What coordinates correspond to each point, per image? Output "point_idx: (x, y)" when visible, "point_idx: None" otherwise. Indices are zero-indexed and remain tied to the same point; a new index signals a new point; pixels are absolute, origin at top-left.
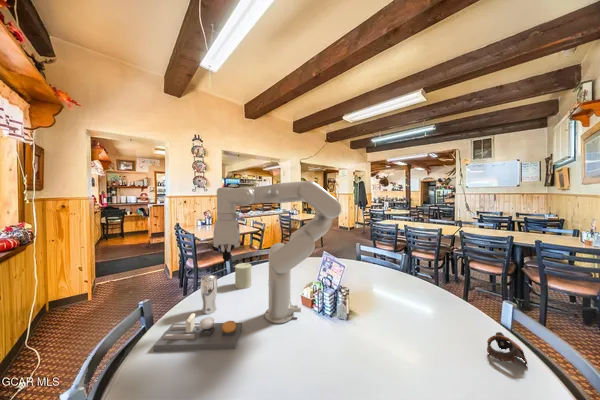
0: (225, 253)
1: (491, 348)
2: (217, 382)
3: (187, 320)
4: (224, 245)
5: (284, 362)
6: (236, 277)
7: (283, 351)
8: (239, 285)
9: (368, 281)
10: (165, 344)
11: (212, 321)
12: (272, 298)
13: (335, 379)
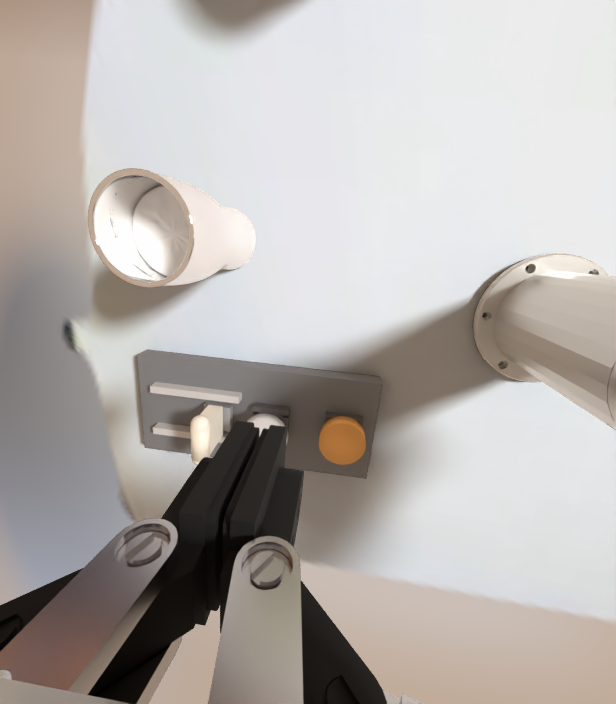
0: (218, 601)
1: None
2: (339, 547)
3: (197, 464)
4: (76, 666)
5: (497, 530)
6: None
7: (503, 499)
8: None
9: None
10: (173, 449)
11: None
12: (556, 389)
13: (604, 590)
